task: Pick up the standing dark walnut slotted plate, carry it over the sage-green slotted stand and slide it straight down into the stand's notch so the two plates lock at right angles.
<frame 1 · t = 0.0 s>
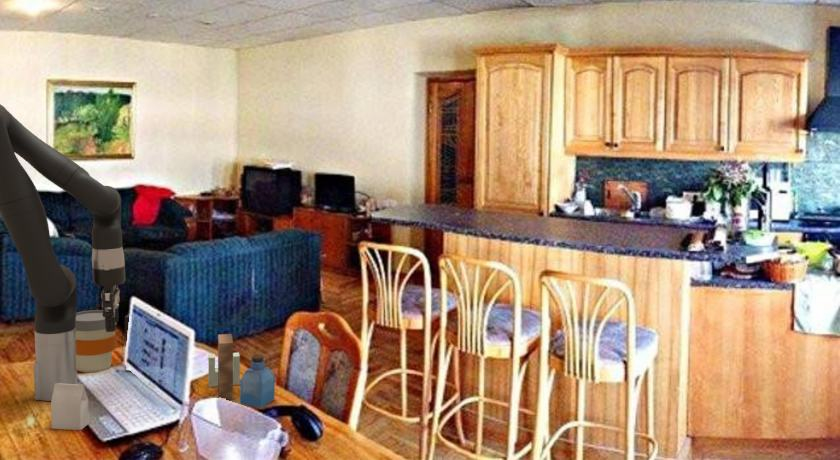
hand: (112, 326, 185), 17 cm above the table, tool pointing down, fingers open, 8 cm apart
perfume bottle: (257, 402, 185), on the table
reusable coffee cup: (93, 367, 205), on the table
grey box: (70, 426, 166), on the table
slotted stand: (224, 383, 196), on the table
coffee box: (145, 370, 205), on the table
walnut plate: (225, 394, 189), on the table
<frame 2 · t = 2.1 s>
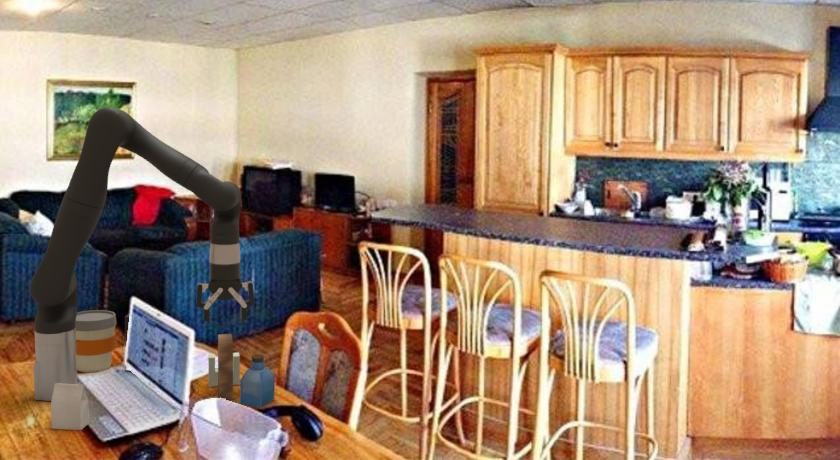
hand: (225, 322, 186), 19 cm above the table, tool pointing down, fingers open, 8 cm apart
nothing on the table moved.
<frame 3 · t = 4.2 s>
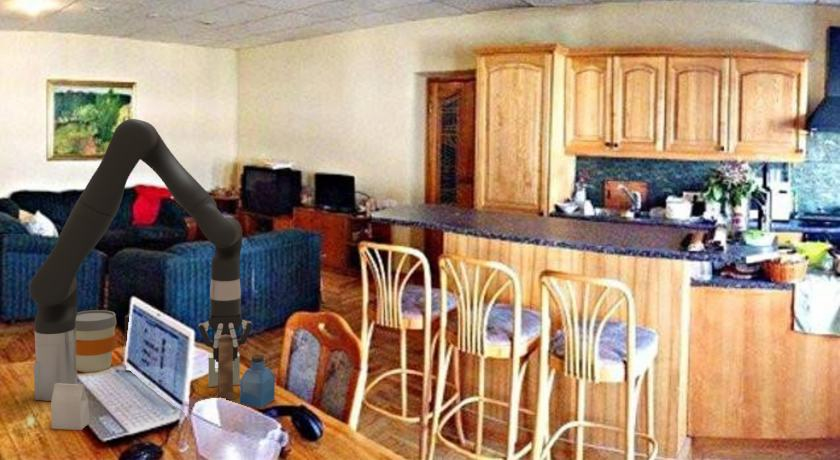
hand: (225, 360, 187), 9 cm above the table, tool pointing down, fingers closed on walnut plate, 3 cm apart
walnut plate: (225, 394, 189), on the table, touching gripper
everything else where it was.
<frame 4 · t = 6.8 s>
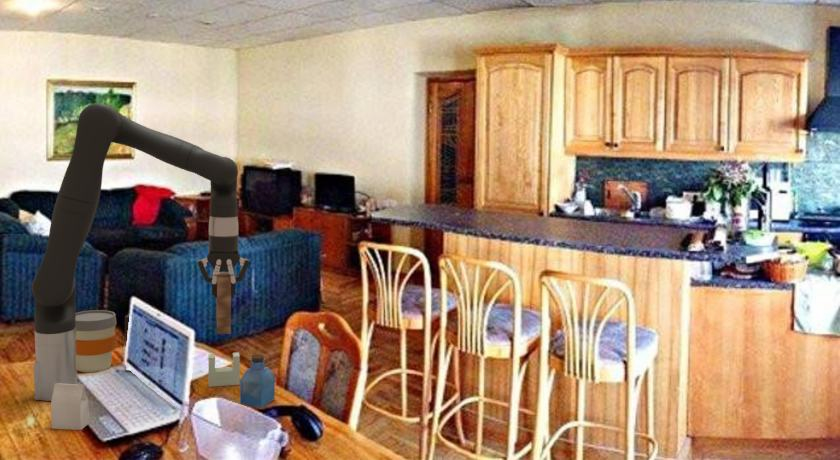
hand: (223, 296, 193), 24 cm above the table, tool pointing down, fingers closed on walnut plate, 3 cm apart
walnut plate: (223, 329, 194), point 15 cm above the table, touching gripper
everything else where it was.
when the fingers open (10 cm above the table, at t = 9.7 s): walnut plate stays where it is, resting on slotted stand.
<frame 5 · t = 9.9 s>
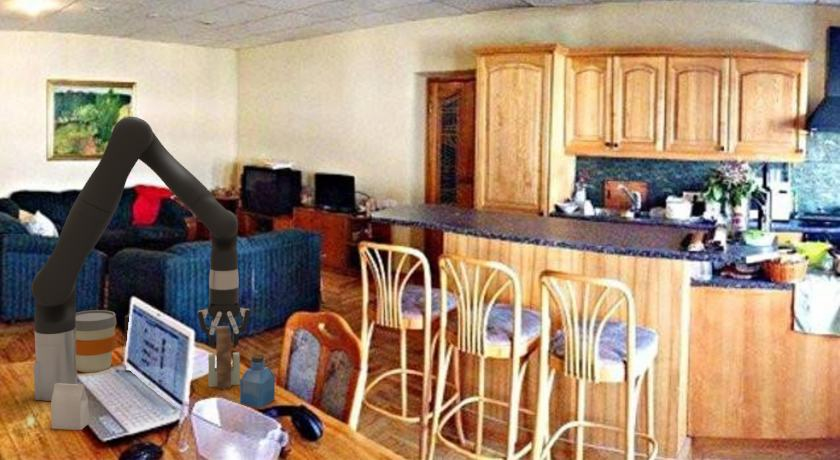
hand: (224, 346, 195), 10 cm above the table, tool pointing down, fingers open, 5 cm apart
walnut plate: (223, 383, 196), resting on slotted stand
everything else where it was.
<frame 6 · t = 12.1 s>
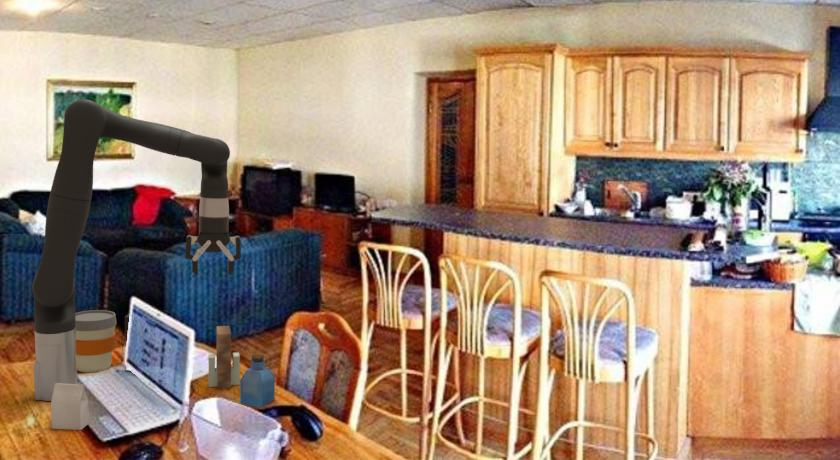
hand: (213, 274, 193), 30 cm above the table, tool pointing down, fingers open, 8 cm apart
nothing on the table moved.
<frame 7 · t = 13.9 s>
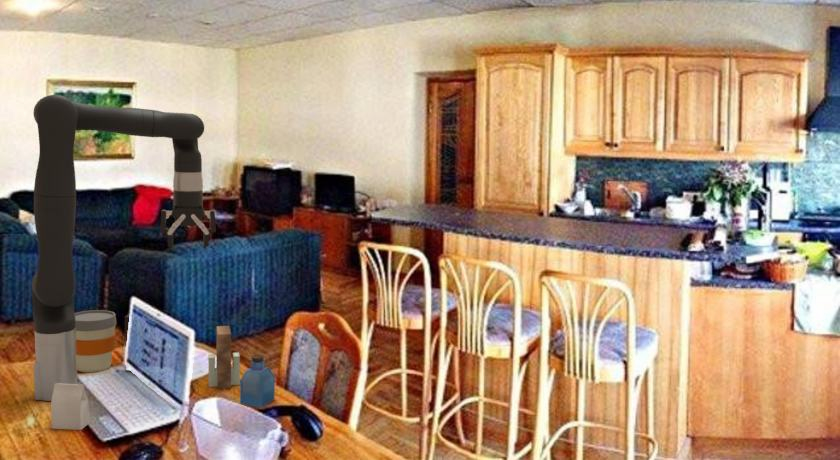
hand: (188, 248, 196), 36 cm above the table, tool pointing down, fingers open, 8 cm apart
nothing on the table moved.
at the end: walnut plate 0.1 cm from the target spot, on the table; walnut plate tilted 0°; the gripper is holding nothing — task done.
